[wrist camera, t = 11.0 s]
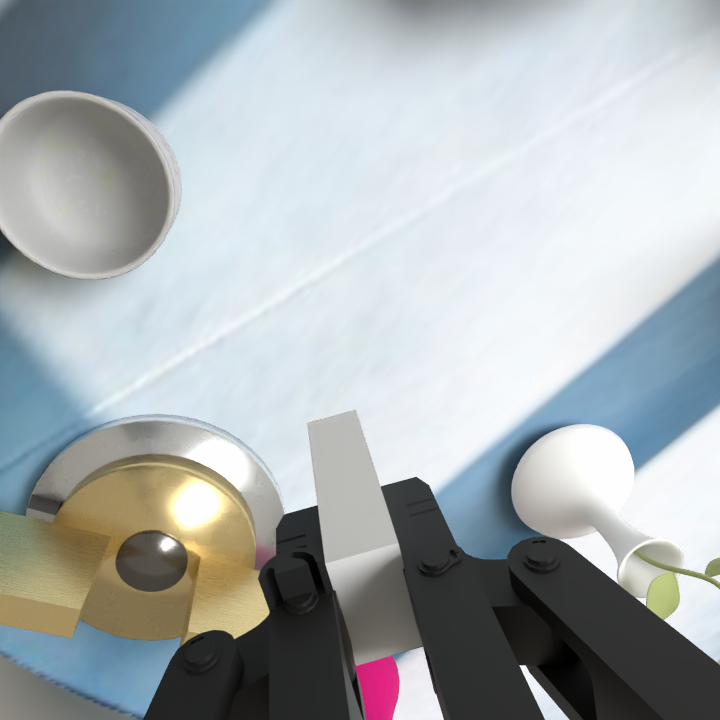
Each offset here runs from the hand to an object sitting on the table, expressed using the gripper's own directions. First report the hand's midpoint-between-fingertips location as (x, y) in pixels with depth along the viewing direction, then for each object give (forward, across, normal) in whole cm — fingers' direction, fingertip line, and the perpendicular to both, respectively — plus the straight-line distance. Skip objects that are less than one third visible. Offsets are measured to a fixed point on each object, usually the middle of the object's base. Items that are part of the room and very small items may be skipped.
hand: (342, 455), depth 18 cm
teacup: (+31, -12, +10) cm, 35 cm away
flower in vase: (+30, +20, -24) cm, 44 cm away
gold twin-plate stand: (+28, -17, -18) cm, 38 cm away
